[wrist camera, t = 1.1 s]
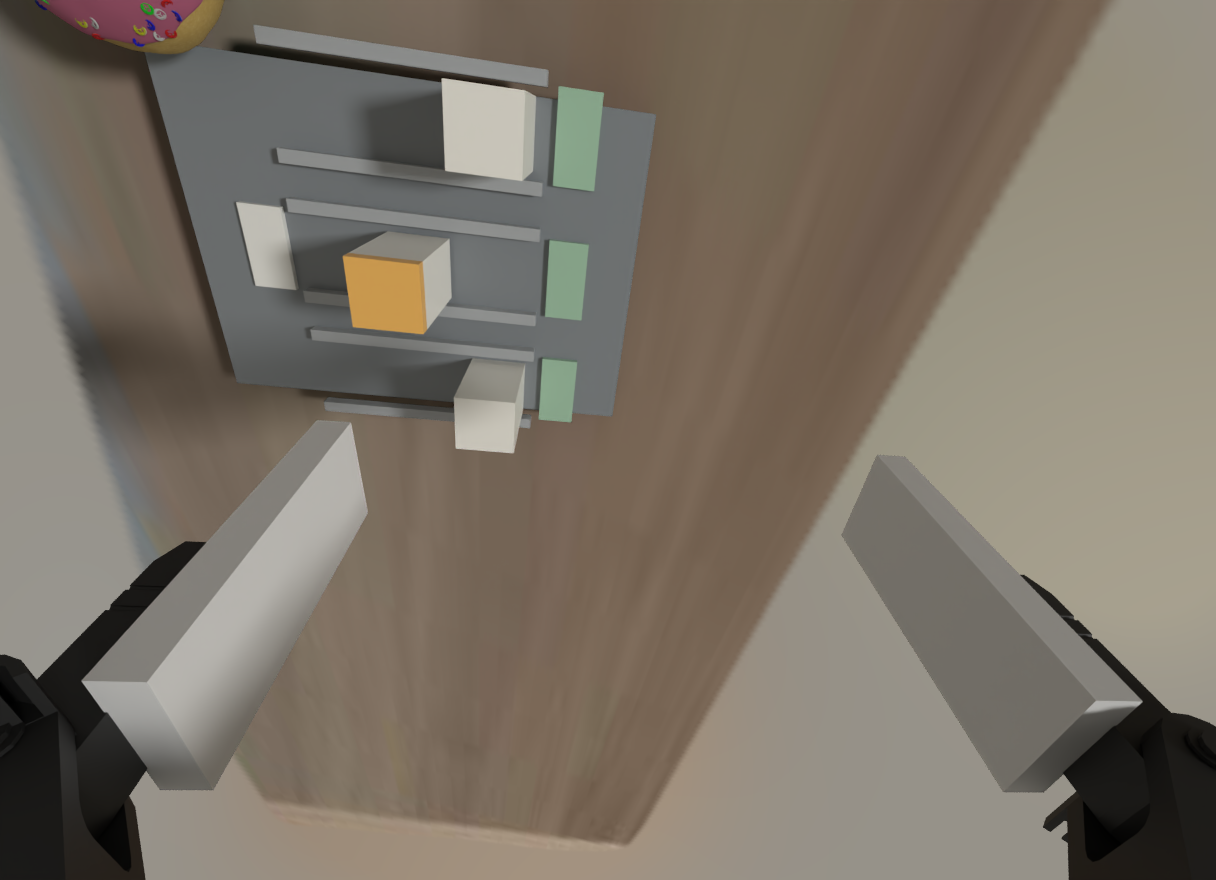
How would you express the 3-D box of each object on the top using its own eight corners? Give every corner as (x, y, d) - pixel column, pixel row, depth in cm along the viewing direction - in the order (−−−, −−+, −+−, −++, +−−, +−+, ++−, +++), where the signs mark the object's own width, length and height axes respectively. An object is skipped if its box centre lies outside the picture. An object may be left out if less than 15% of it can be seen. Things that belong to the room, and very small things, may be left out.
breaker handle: (388, 231, 25) (342, 255, 21) (449, 238, 26) (418, 264, 21) (393, 291, 27) (352, 327, 22) (451, 297, 27) (423, 334, 23)
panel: (165, 16, 23) (16, -23, 17) (654, 90, 25) (677, 80, 19) (259, 383, 32) (185, 443, 26) (608, 414, 34) (613, 476, 28)
